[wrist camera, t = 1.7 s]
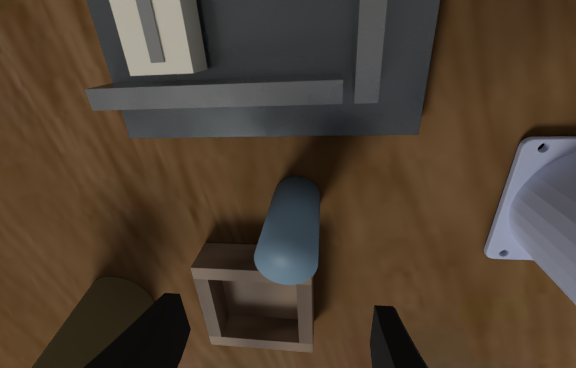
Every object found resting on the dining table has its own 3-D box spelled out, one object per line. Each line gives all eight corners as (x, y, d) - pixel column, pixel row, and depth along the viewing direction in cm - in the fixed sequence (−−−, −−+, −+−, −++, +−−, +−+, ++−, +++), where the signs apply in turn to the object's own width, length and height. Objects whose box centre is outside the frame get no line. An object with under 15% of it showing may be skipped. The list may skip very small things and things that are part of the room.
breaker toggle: (193, -14, 12) (174, -22, 11) (207, 69, 14) (192, 73, 12) (130, -9, 13) (103, -15, 11) (150, 71, 14) (129, 76, 13)
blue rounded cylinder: (320, 176, 18) (318, 236, 12) (320, 216, 19) (318, 286, 14) (272, 176, 18) (250, 234, 13) (275, 216, 19) (257, 283, 14)
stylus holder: (312, 246, 20) (311, 273, 18) (313, 322, 24) (312, 352, 22) (205, 242, 21) (190, 267, 19) (221, 315, 25) (211, 344, 23)
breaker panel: (452, -142, 11) (497, -204, 8) (411, 127, 16) (431, 148, 13) (75, -94, 13) (6, -131, 10) (141, 132, 18) (106, 150, 15)
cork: (81, 273, 24) (-80, 429, 15) (148, 279, 24) (26, 446, 14) (101, 320, 27) (-23, 477, 18) (161, 327, 27) (68, 494, 17)
